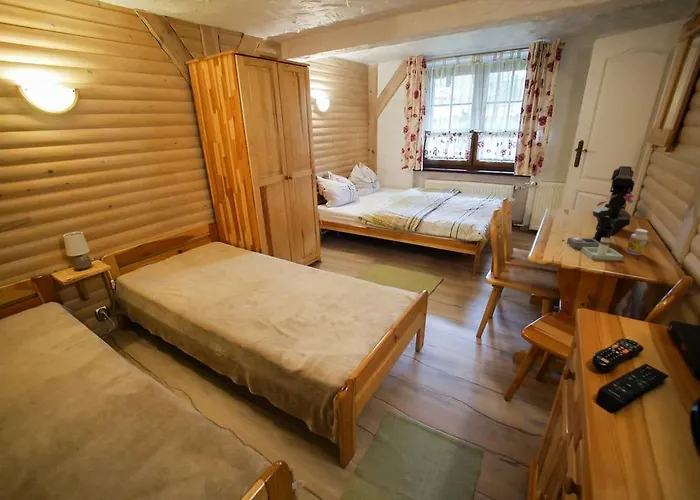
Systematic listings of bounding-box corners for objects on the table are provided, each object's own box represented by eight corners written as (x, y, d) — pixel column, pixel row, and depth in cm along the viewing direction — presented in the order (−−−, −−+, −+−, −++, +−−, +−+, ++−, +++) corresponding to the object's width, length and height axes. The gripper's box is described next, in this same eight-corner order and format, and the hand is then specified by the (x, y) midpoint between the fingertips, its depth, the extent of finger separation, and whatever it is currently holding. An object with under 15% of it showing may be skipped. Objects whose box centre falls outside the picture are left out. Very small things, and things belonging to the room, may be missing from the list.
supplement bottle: (622, 250, 172) (630, 228, 167) (634, 250, 172) (643, 228, 167) (631, 255, 166) (640, 232, 161) (644, 255, 166) (653, 232, 161)
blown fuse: (602, 253, 168) (608, 237, 164) (607, 256, 164) (613, 240, 160) (594, 253, 168) (599, 237, 165) (598, 256, 165) (604, 240, 161)
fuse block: (591, 244, 181) (593, 237, 180) (599, 249, 174) (601, 242, 172) (566, 243, 183) (568, 236, 181) (573, 248, 176) (575, 241, 174)
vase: (630, 233, 196) (648, 185, 184) (597, 231, 201) (612, 183, 190) (619, 225, 211) (634, 180, 199) (588, 223, 216) (601, 178, 204)
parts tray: (609, 252, 170) (610, 248, 169) (622, 260, 160) (623, 256, 159) (580, 251, 172) (582, 246, 171) (591, 259, 162) (593, 255, 161)
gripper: (587, 198, 166) (579, 226, 172) (609, 207, 149) (599, 238, 155) (611, 198, 165) (602, 227, 171) (635, 208, 148) (624, 239, 154)
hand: (606, 232), depth 163 cm, fingers open, 9 cm apart
